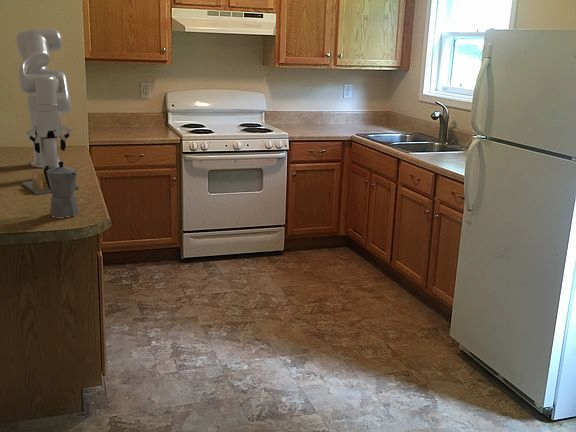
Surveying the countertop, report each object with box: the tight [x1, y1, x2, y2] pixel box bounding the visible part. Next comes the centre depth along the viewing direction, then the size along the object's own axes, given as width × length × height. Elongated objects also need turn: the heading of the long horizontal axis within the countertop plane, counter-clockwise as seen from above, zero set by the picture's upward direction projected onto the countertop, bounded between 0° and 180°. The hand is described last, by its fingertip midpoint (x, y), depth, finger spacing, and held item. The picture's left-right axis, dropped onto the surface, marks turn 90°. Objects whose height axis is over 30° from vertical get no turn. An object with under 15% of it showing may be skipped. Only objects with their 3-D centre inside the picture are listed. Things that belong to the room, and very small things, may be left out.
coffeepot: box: [44, 160, 80, 217], centre depth 208 cm, size 15×9×18 cm, turn 57°
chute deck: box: [21, 172, 80, 195], centre depth 242 cm, size 17×16×5 cm
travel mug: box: [41, 130, 60, 173], centre depth 253 cm, size 6×7×20 cm
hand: (50, 151), depth 252 cm, fingers open, 9 cm apart
